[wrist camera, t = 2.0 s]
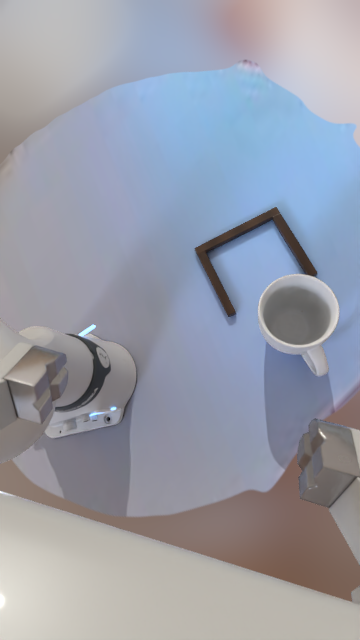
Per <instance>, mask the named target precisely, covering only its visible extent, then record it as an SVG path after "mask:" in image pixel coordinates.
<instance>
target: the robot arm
mask: <svg viewBox="0 0 360 640" xmlns="http://www.w3.org/2000/svg"><path fill="white" fill-rule="evenodd" d="M95 327H96V326H95V325H92V326H90V327H89V328H87V329H86V330H84V331H83V332H82V333H80V334H79V335H77V334H64V333H61V332H58V331H55V330H53V329H50V328H47V327H43V326H33V327H29V328H26V329H24V330H21V331H20V332H18V333H17V332H16V331H15V330H14V329H12V328H11V327H10V326H9V325H7V324H6V323H5V322H4V321H3V320H2V319H1V318H0V464H1V463H3V462H6V461H8V460H11V459H13V458H15V457H17V456H18V455H20V454H21V453H23V452H24V451H26V450H27V449H28V448H29V447H31V446H32V445H33V444H34V443H35V442H36V441H37V440H38V439H39V438H40V437H41V435H42V434H43V433H45V434H46V435H47V436H48V437H50V438H58V437H63V436H67V435H72V434H76V433H80V432H85V431H89V430H94V429H98V428H103V427H107V426H112V425H116V424H119V423H120V422H121V420H122V417H123V413H124V408H125V405H126V403H127V402H128V400H129V399H130V397H131V395H132V393H133V391H134V388H135V384H136V367H135V363H134V361H133V358H132V357H131V355H130V354H129V352H128V351H127V350H126V349H125V348H124V347H122V346H121V345H119V344H117V343H114V342H110V341H104V340H101V339H99V338H98V337H97V336H95V335H93V334H86V333H88V332H89V331H91V330H92V329H94V328H95ZM85 334H86V335H85ZM108 417H110V418H111V420H110V421H109V420H108ZM297 459H298V465H299V466H300V468H301V469H302V473H301V475H300V476H299V490H300V499H302V500H306V501H309V502H312V503H315V504H318V505H321V506H324V507H328V508H329V511H330V513H331V515H332V516H333V518H334V520H335V522H336V524H337V525H338V527H339V529H340V531H341V533H342V534H343V536H344V538H345V540H346V542H347V543H348V545H349V547H350V548H351V551H352V552H353V554H354V556H355V558H356V560H357V561H358V563H359V565H360V430H357V429H353V428H350V427H346V426H342V425H338V424H334V423H330V422H326V421H322V420H318V419H313V420H312V421H311V422H310V424H309V432H307V433H305V434H303V436H302V438H301V439H300V442H299V446H298V453H297ZM351 595H352V602H350V601H347V600H344V599H341V598H338V597H334V596H331V595H328V594H325V593H322V592H319V591H315V590H312V589H309V588H306V587H303V586H299V585H296V584H293V583H290V582H287V581H284V580H281V579H278V578H274V577H271V576H268V575H265V574H262V573H259V572H255V571H252V570H249V569H246V568H243V567H240V566H237V565H233V564H230V563H227V562H224V561H221V560H217V559H214V558H211V557H208V556H205V555H202V554H199V553H195V552H192V551H189V550H186V549H182V548H180V547H176V546H173V545H170V544H167V543H164V542H161V541H157V540H154V539H151V538H148V537H145V536H141V535H139V534H135V533H132V532H129V531H126V530H123V529H119V528H116V527H113V526H110V525H107V524H103V523H100V522H97V521H94V520H91V519H88V518H85V517H82V516H78V515H75V514H72V513H69V512H66V511H63V510H59V509H56V508H53V507H50V506H47V505H44V504H40V503H37V502H34V501H31V500H27V499H25V498H21V497H18V496H15V495H12V494H9V493H6V492H2V491H0V640H360V586H359V587H357V588H356V589H355V590H353V591H352V592H351Z"/></svg>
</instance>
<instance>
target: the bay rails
mask: <svg viewBox="0 0 360 640" xmlns="http://www.w3.org/2000/svg"><path fill="white" fill-rule="evenodd" d="M271 220H273V222H274V224H275V225H276V227H277V228H278V230H279V232H280V233H281V235H282V237H283V238H284V240H285V242H286V243H287V245H288V247H289V248H290V250H291V251H292V253H293V255H294V256H295V258H296V260H297V261H298V263H299V265H300V266H301V268H302V269H303V271H304V273H305V274H306V275H309V276H313V277H314V276H316V275H317V271H316V270H315V268H314V266H313V265H312V263H311V262H310V260H309V258H308V257H307V255H306V254H305V252H304V250H303V249H302V247H301V246H300V244H299V242H298V241H297V239H296V238H295V236H294V234H293V233H292V231H291V230H290V228H289V226H288V225H287V223H286V222H285V220H284V218H283V217H282V215H281V214H280V212H279V211H278V209H277V207H275V208H273V209H271V210H269V211H267V212H265V213H263V214H261V215H259V216H257V217H255V218H253V219H251V220H249V221H247V222H245V223H243V224H241V225H239V226H237V227H235V228H233V229H231V230H229V231H227V232H226V233H224V234H222V235H220V236H218V237H216V238H214V239H212V240H210V241H208V242H206V243H204V244H202V245H200V246H198V247H196V248H195V251H196V253H197V255H198V257H199V259H200V261H201V263H202V265H203V267H204V269H205V271H206V273H207V275H208V277H209V279H210V281H211V283H212V285H213V287H214V289H215V291H216V293H217V295H218V297H219V299H220V301H221V303H222V305H223V307H224V309H225V311H226V313H227V315H228V317H230V316H232V315H234V314H236V311H235V309H234V308H233V306H232V304H231V302H230V300H229V298H228V296H227V294H226V292H225V290H224V288H223V286H222V284H221V282H220V280H219V278H218V276H217V274H216V272H215V270H214V268H213V266H212V264H211V262H210V260H209V258H208V256H207V254H206V253H207V252H209V251H211V250H213V249H215V248H217V247H219V246H221V245H223V244H225V243H227V242H229V241H231V240H233V239H235V238H237V237H239V236H241V235H243V234H245V233H247V232H249V231H251V230H253V229H255V228H257V227H259V226H261V225H263V224H265V223H267V222H269V221H271Z"/></svg>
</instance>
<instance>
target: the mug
mask: <svg viewBox="0 0 360 640" xmlns="http://www.w3.org/2000/svg"><path fill="white" fill-rule="evenodd" d="M338 320H339V304H338V301H337V298H336V296H335V294H334V293H333V291H332V290H331V289H330V288H329V287H328V286H327V285H326V284H325V283H324V282H322V281H321V280H319V279H317V278H315V277H313V276H309V275H304V274H292V275H287V276H284V277H281V278H279V279H277V280H275V281H274V282H273V283H271V284H270V285H269V286H268V287H267V288H266V289H265V291H264V292H263V294H262V296H261V298H260V301H259V305H258V322H259V327H260V330H261V333H262V335H263V337H264V338H265V340H266V341H267V343H269V344H270V346H272V347H273V348H275V349H276V350H278V351H280V352H283V353H287V354H296V355H297V354H301V355H302V357H303V359H304V360H305V362H306V363H307V365H308V366H309V368H310V369H311V370H312V372H313V373H314V374H315V375H316V376H323V375H325V374H327V373H328V370H329V368H328V363H327V359H326V356H325V353H324V350H323V348H322V346H321V345H322V344H323V343H324V342H325V341H326V340H327V339H328V338H329V337H330V335H331V334H332V333H333V331H334V330H335V328H336V326H337V323H338Z"/></svg>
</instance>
